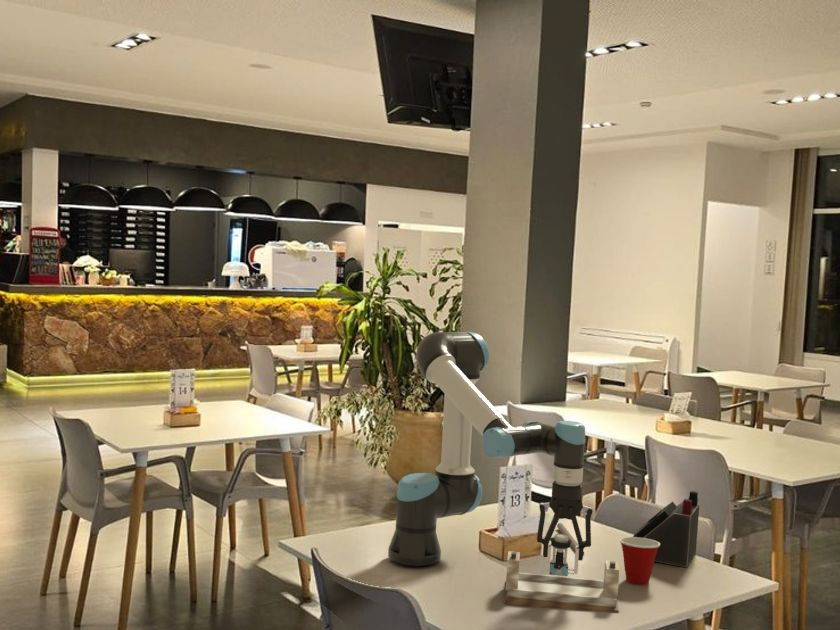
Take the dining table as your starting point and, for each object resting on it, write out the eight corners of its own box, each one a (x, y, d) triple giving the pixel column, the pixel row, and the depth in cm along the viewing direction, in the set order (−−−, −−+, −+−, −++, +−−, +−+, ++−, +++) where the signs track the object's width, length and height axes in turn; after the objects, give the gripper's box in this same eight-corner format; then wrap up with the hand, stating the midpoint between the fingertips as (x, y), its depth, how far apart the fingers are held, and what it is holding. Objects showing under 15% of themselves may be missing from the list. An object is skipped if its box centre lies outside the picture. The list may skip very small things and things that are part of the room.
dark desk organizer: (640, 546, 278) (645, 482, 276) (695, 556, 270) (700, 491, 269) (629, 561, 263) (633, 493, 262) (686, 572, 256) (691, 503, 255)
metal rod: (577, 556, 266) (578, 549, 266) (556, 528, 293) (557, 522, 293) (584, 556, 266) (584, 550, 266) (562, 529, 293) (563, 523, 293)
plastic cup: (653, 578, 249) (656, 535, 249) (661, 592, 239) (664, 547, 238) (614, 575, 250) (616, 532, 249) (619, 589, 239) (622, 544, 239)
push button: (573, 572, 233) (576, 534, 233) (574, 579, 228) (577, 540, 227) (547, 569, 234) (550, 532, 233) (548, 576, 229) (551, 538, 228)
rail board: (504, 603, 225) (506, 561, 224) (507, 580, 241) (509, 540, 241) (618, 615, 221) (621, 572, 220) (613, 590, 238) (615, 550, 237)
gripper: (529, 482, 227) (523, 572, 228) (606, 489, 224) (601, 579, 226) (529, 475, 234) (524, 562, 236) (604, 482, 232) (599, 569, 233)
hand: (561, 570), depth 231 cm, fingers closed on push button, 6 cm apart
